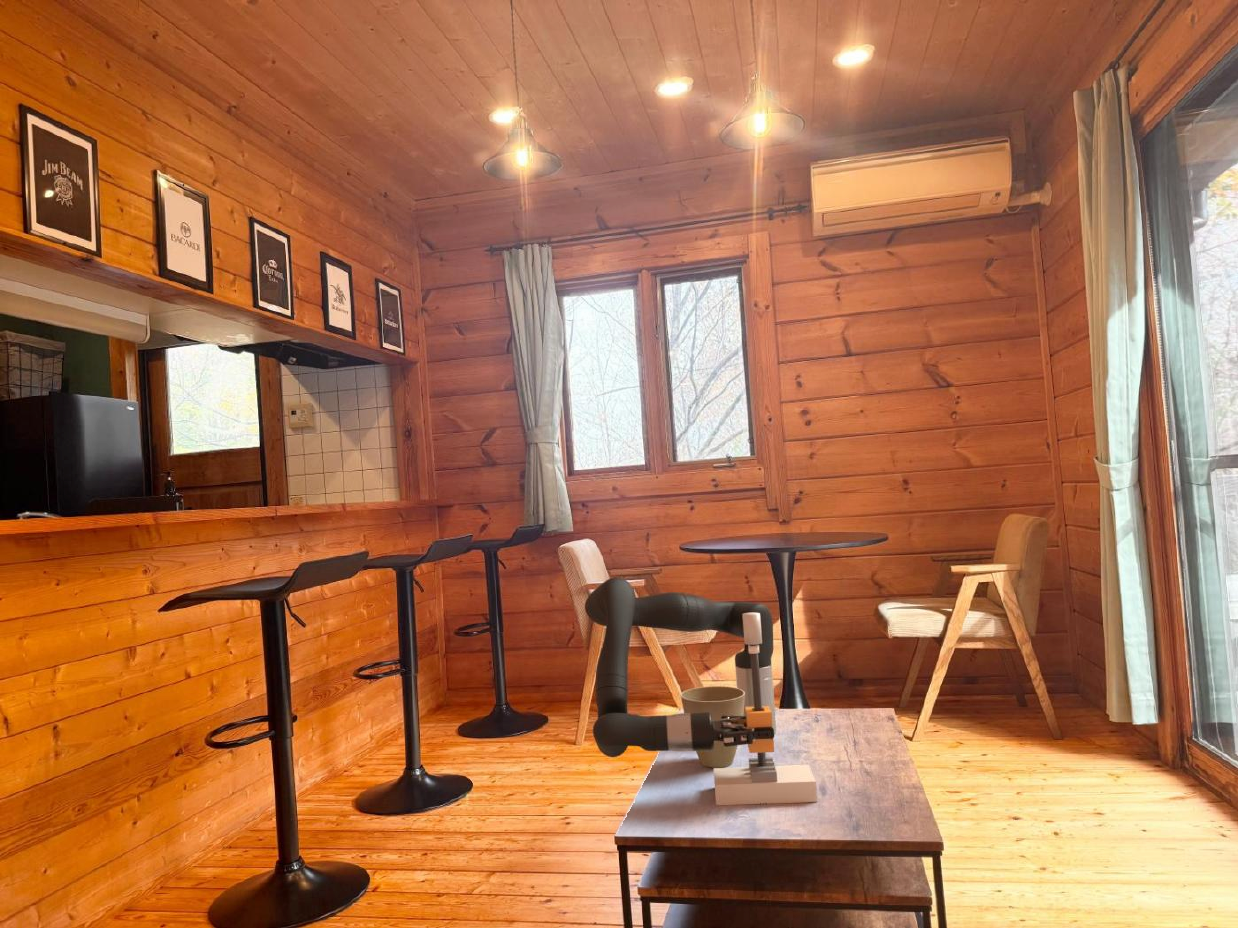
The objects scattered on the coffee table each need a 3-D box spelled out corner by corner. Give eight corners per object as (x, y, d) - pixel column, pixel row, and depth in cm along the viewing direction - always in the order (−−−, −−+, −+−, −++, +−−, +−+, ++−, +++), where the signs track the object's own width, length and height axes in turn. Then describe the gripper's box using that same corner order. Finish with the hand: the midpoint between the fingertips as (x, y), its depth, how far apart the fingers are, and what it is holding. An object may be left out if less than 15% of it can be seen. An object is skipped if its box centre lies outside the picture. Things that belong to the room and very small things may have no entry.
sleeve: (748, 745, 175) (745, 706, 175) (772, 744, 175) (769, 705, 175) (749, 752, 170) (746, 713, 170) (774, 751, 170) (771, 712, 170)
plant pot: (748, 773, 185) (743, 700, 185) (681, 773, 188) (676, 702, 188) (751, 751, 200) (746, 684, 200) (689, 752, 203) (684, 685, 203)
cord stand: (714, 787, 178) (702, 612, 179) (810, 783, 176) (797, 607, 177) (716, 805, 168) (703, 620, 169) (817, 801, 166) (803, 614, 167)
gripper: (688, 723, 167) (774, 719, 165) (689, 704, 181) (768, 701, 180) (691, 761, 167) (777, 758, 165) (691, 739, 181) (770, 736, 179)
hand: (772, 728), depth 172 cm, fingers closed on sleeve, 5 cm apart
